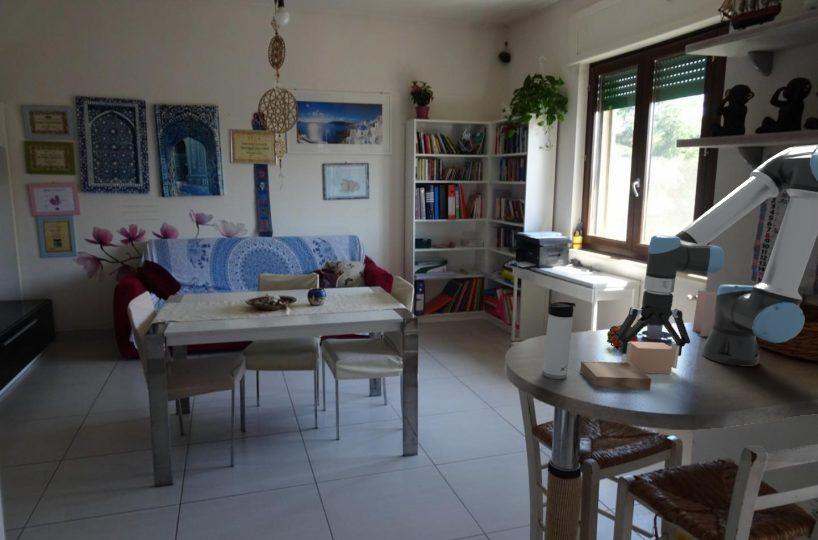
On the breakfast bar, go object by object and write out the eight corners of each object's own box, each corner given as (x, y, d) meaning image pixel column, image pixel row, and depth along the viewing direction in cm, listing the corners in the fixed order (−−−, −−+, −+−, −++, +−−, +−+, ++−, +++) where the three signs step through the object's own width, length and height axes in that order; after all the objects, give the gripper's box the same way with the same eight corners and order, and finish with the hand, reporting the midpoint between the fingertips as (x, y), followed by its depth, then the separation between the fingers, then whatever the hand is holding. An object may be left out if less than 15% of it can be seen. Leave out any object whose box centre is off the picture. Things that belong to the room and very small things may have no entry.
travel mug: (569, 381, 145) (576, 306, 141) (543, 378, 146) (550, 303, 143) (567, 372, 151) (574, 300, 147) (542, 370, 152) (549, 298, 149)
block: (660, 366, 160) (663, 342, 158) (670, 373, 154) (674, 349, 152) (626, 365, 159) (629, 341, 158) (635, 372, 153) (638, 348, 152)
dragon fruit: (603, 354, 174) (630, 356, 179) (624, 345, 167) (651, 347, 173) (596, 329, 177) (623, 331, 183) (616, 319, 171) (643, 322, 176)
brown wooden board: (630, 373, 153) (631, 362, 152) (650, 390, 141) (651, 378, 141) (580, 371, 153) (581, 360, 152) (595, 387, 141) (596, 376, 140)
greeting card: (728, 335, 198) (734, 294, 195) (730, 340, 191) (737, 298, 189) (692, 330, 202) (698, 290, 200) (693, 335, 196) (699, 293, 193)
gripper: (619, 292, 149) (610, 368, 152) (710, 296, 149) (699, 372, 153) (608, 287, 156) (600, 359, 160) (695, 290, 157) (685, 363, 160)
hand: (648, 365), depth 156 cm, fingers open, 13 cm apart
